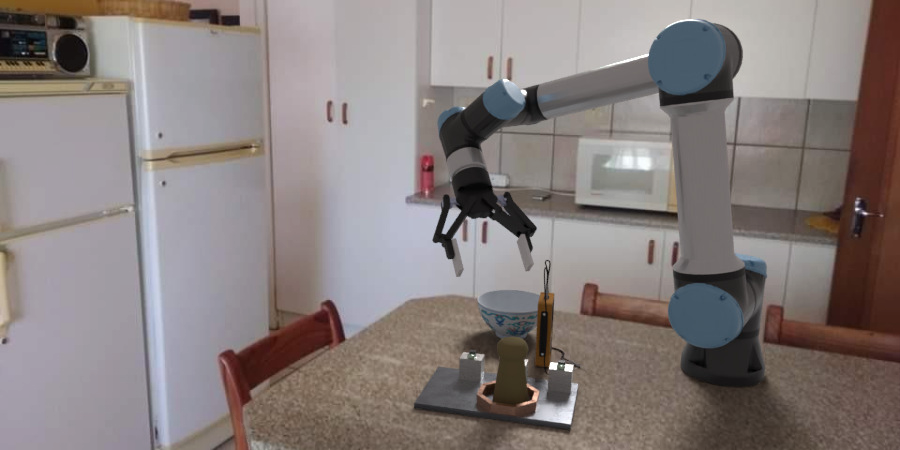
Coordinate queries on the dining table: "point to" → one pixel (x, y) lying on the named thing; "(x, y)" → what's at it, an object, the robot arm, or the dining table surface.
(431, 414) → the dining table surface
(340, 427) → the dining table surface
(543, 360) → the multimeter
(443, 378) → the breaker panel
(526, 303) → the chinaware
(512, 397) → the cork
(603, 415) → the dining table surface
